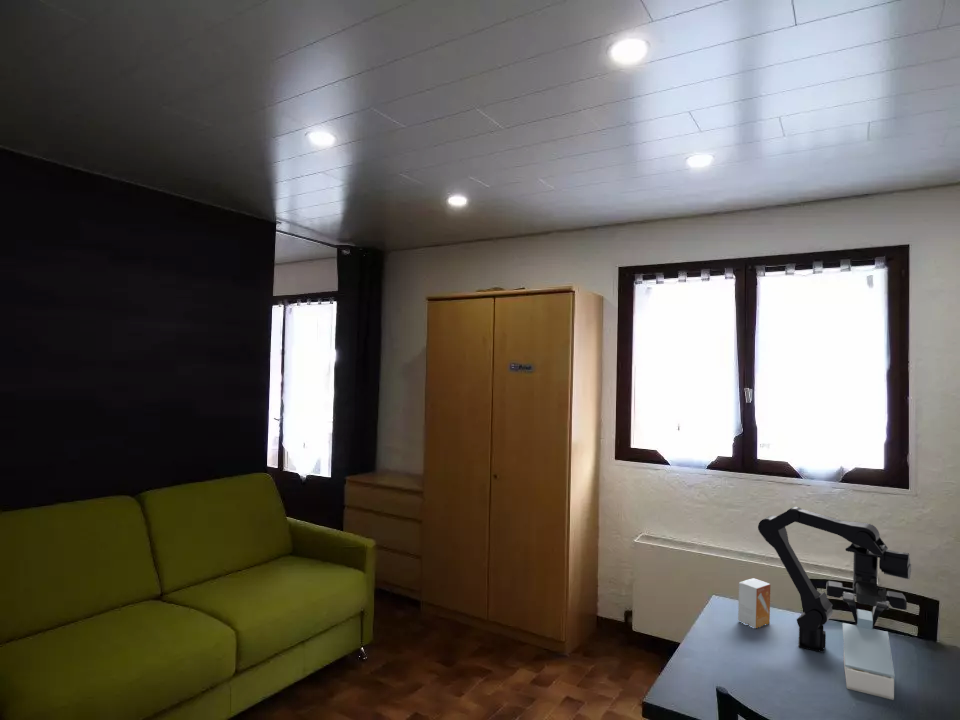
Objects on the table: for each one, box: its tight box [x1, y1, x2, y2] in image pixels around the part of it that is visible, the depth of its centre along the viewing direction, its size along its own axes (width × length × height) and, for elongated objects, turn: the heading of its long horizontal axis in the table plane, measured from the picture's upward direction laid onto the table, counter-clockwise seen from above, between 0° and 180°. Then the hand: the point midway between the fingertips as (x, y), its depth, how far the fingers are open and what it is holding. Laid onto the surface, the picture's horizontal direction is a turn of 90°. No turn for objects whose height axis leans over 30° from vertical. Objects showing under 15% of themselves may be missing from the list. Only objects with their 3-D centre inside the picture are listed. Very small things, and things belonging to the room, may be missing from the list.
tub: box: [843, 656, 895, 701], centre depth 157 cm, size 10×16×5 cm, turn 151°
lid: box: [842, 608, 896, 679], centre depth 159 cm, size 11×20×4 cm, turn 151°
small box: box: [737, 577, 771, 629], centre depth 190 cm, size 8×6×13 cm
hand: (864, 625), depth 166 cm, fingers closed on lid, 3 cm apart
